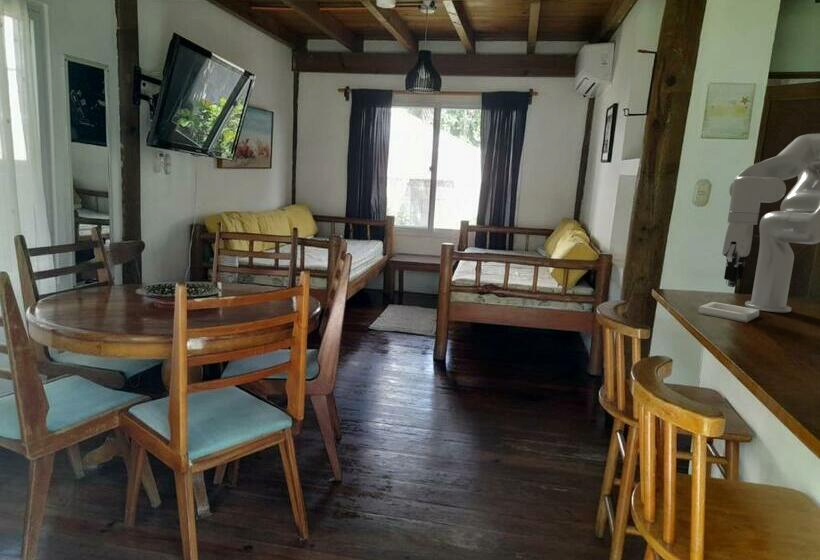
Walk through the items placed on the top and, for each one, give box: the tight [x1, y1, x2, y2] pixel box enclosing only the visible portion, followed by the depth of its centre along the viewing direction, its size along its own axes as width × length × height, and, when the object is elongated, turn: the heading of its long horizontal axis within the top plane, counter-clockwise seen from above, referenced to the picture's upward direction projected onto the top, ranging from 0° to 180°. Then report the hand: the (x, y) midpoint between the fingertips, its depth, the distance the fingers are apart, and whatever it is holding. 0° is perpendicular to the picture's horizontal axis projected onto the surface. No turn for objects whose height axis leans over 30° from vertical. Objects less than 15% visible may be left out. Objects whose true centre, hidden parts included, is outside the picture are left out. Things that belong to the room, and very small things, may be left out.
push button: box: [725, 255, 747, 288], centre depth 158 cm, size 7×5×10 cm
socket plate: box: [697, 301, 760, 323], centre depth 161 cm, size 12×13×2 cm
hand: (733, 278), depth 159 cm, fingers closed on push button, 5 cm apart
